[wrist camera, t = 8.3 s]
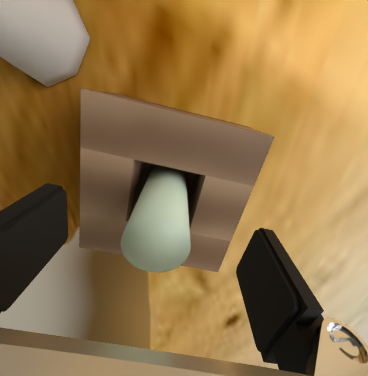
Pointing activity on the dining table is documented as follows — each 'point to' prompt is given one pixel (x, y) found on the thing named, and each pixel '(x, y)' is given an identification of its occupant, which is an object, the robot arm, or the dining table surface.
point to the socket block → (169, 157)
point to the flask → (43, 38)
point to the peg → (159, 223)
